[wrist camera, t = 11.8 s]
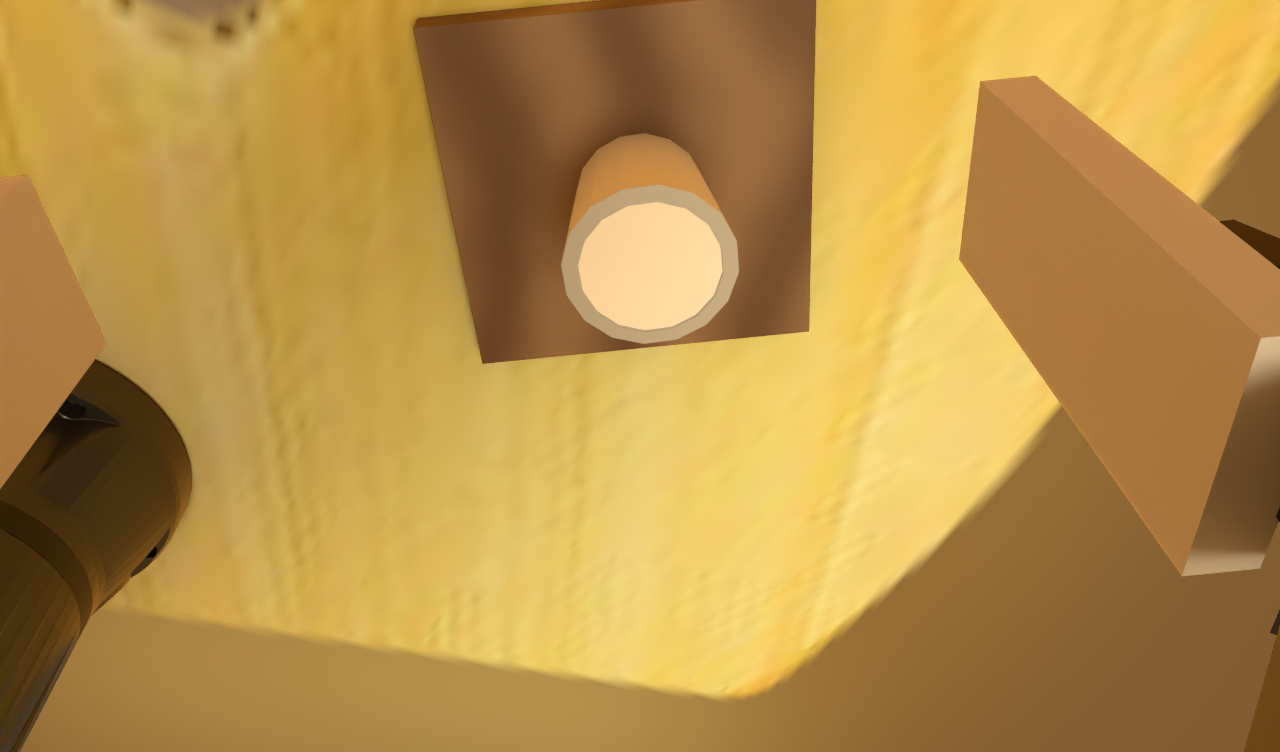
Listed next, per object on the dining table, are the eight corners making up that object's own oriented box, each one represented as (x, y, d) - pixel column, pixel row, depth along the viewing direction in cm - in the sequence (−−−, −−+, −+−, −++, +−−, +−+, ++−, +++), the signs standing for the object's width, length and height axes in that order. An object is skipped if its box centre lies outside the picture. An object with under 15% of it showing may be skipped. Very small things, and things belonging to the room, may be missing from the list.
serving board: (484, 347, 49) (482, 363, 48) (418, 18, 40) (413, 28, 39) (803, 315, 49) (809, 331, 48) (808, -20, 40) (816, -12, 39)
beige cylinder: (672, 285, 46) (687, 368, 40) (537, 228, 44) (532, 307, 38) (746, 159, 43) (773, 230, 37) (603, 91, 40) (609, 155, 35)
